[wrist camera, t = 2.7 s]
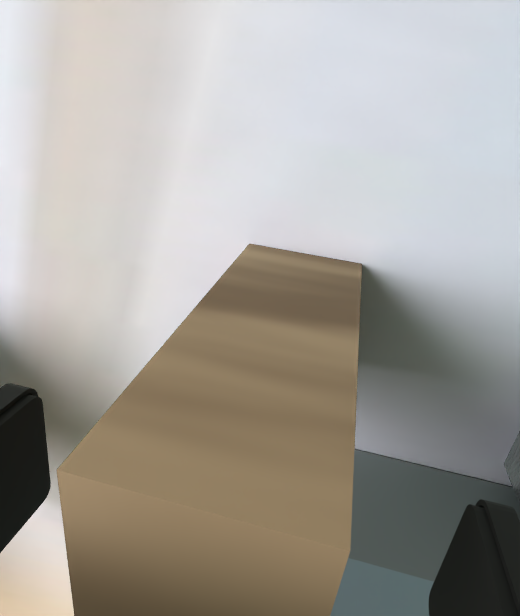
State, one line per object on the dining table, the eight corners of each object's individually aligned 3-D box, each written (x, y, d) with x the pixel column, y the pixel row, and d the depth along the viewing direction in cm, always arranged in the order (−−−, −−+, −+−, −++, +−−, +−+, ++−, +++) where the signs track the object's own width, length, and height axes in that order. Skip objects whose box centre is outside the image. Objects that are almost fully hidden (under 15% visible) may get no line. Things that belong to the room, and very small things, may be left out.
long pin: (249, 243, 16) (56, 470, 6) (362, 263, 15) (350, 550, 5) (239, 340, 18) (77, 635, 8) (339, 361, 17) (300, 711, 7)
